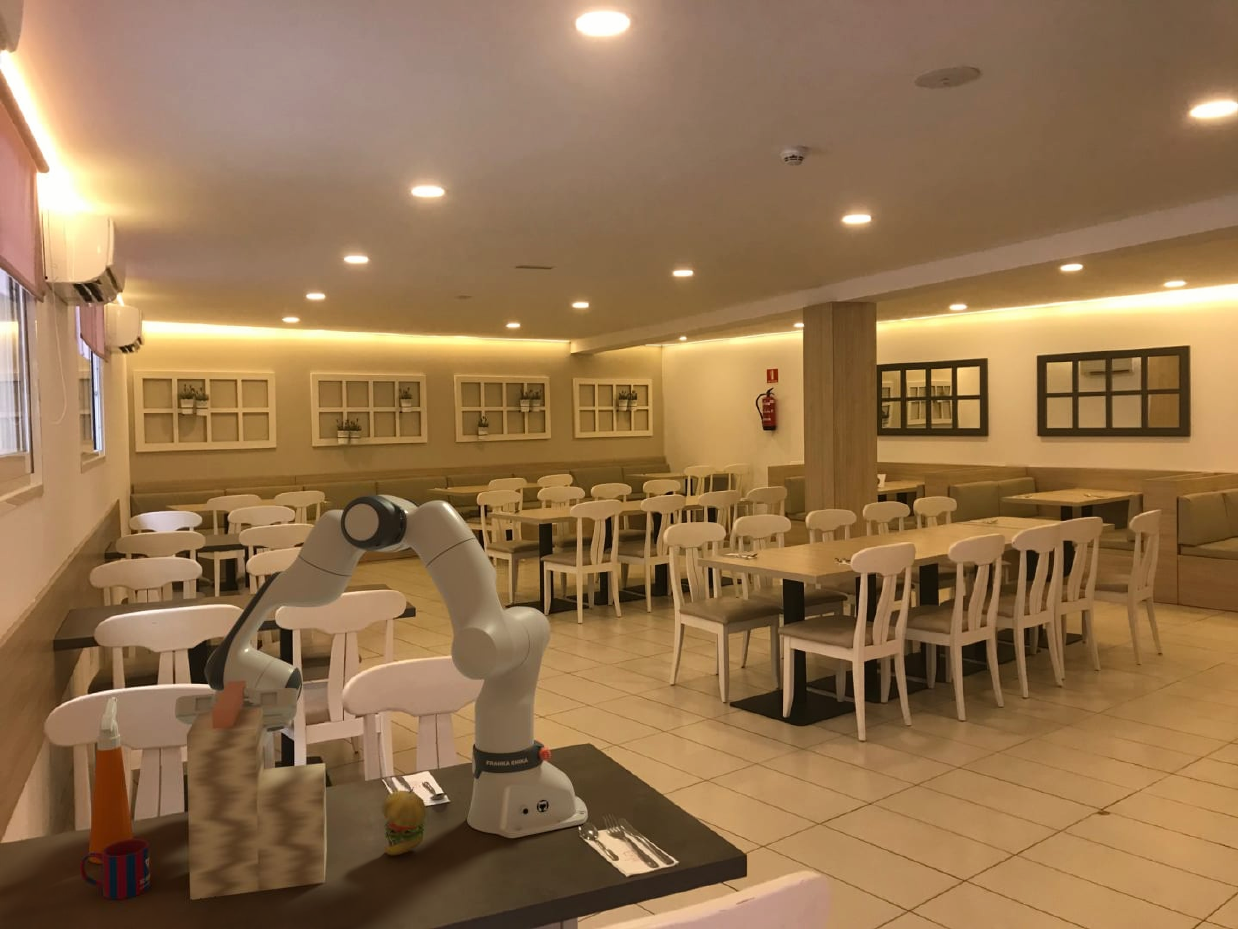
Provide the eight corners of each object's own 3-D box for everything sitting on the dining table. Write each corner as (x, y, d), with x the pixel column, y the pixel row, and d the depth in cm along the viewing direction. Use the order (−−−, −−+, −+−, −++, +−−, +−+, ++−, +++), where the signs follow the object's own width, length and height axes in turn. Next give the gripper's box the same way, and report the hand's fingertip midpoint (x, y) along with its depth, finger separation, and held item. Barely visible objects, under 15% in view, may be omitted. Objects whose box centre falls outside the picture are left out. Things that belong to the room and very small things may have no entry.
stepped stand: (326, 851, 164) (324, 703, 163) (324, 882, 152) (321, 723, 151) (202, 866, 158) (199, 713, 158) (190, 900, 147) (186, 734, 146)
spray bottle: (139, 836, 171) (136, 691, 170) (131, 860, 161) (128, 707, 160) (95, 842, 168) (92, 696, 168) (84, 867, 158) (81, 712, 158)
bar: (246, 697, 167) (245, 680, 167) (232, 726, 150) (232, 708, 150) (228, 698, 166) (227, 681, 166) (212, 728, 149) (212, 710, 149)
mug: (139, 899, 147) (138, 856, 147) (73, 902, 147) (72, 858, 146) (157, 879, 154) (156, 837, 154) (93, 882, 153) (92, 840, 153)
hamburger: (403, 841, 167) (402, 774, 167) (435, 849, 164) (434, 781, 164) (373, 859, 161) (372, 789, 160) (406, 867, 157) (405, 796, 157)
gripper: (182, 702, 172) (169, 680, 161) (300, 693, 178) (295, 671, 166) (179, 737, 170) (166, 717, 158) (299, 726, 175) (294, 707, 163)
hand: (233, 694), depth 162 cm, fingers closed on bar, 3 cm apart
